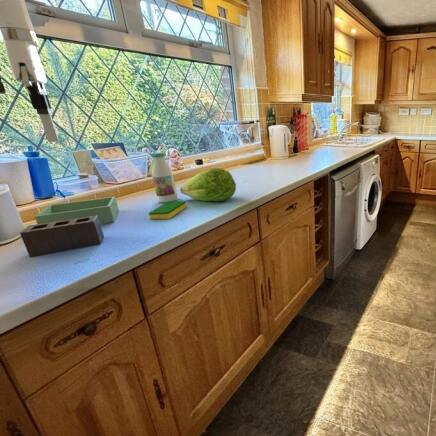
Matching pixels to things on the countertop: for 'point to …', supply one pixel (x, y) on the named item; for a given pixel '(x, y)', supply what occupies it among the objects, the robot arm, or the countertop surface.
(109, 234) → the countertop surface
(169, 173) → the milk bottle
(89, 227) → the knife rack
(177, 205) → the dish sponge
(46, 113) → the knife
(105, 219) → the green tray
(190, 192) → the lettuce
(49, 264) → the countertop surface
